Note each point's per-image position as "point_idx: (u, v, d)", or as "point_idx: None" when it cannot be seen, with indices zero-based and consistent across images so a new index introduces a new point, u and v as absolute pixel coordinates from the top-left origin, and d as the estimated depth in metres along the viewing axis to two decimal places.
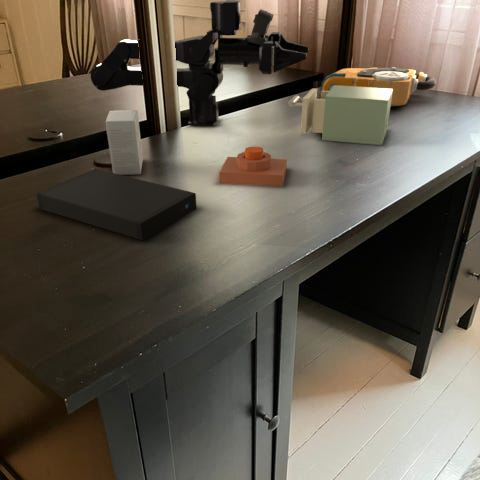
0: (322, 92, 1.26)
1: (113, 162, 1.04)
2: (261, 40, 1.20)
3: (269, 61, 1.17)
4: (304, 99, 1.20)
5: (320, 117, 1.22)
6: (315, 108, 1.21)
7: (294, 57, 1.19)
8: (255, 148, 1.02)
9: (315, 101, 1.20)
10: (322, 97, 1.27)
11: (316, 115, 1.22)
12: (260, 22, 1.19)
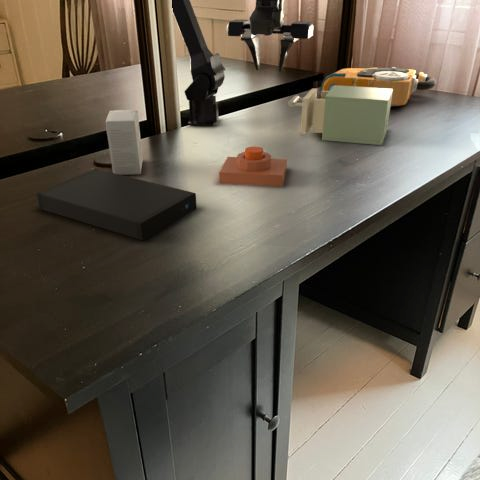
0: (322, 92, 1.26)
1: (113, 162, 1.04)
2: None
3: None
4: (304, 99, 1.20)
5: (320, 117, 1.22)
6: (315, 108, 1.21)
7: None
8: (255, 148, 1.02)
9: (315, 101, 1.20)
10: (322, 97, 1.27)
11: (316, 115, 1.22)
12: None
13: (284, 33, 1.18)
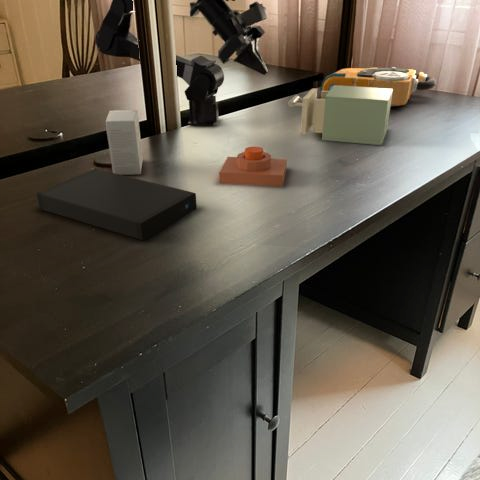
0: (322, 92, 1.26)
1: (113, 162, 1.04)
2: (240, 28, 1.18)
3: (229, 54, 1.16)
4: (304, 99, 1.20)
5: (320, 117, 1.22)
6: (315, 108, 1.21)
7: (257, 65, 1.23)
8: (255, 148, 1.02)
9: (315, 101, 1.20)
10: (322, 97, 1.27)
11: (316, 115, 1.22)
12: (251, 14, 1.16)
13: (251, 39, 1.25)
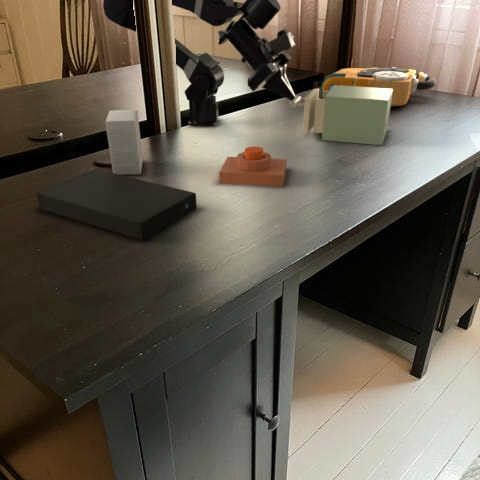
0: (324, 92, 1.26)
1: (113, 162, 1.04)
2: (269, 56, 1.19)
3: (259, 82, 1.17)
4: (306, 99, 1.20)
5: (322, 117, 1.22)
6: (317, 108, 1.21)
7: (285, 91, 1.24)
8: (255, 148, 1.02)
9: (317, 101, 1.20)
10: (324, 97, 1.27)
11: (318, 115, 1.22)
12: (280, 42, 1.18)
13: (278, 65, 1.26)
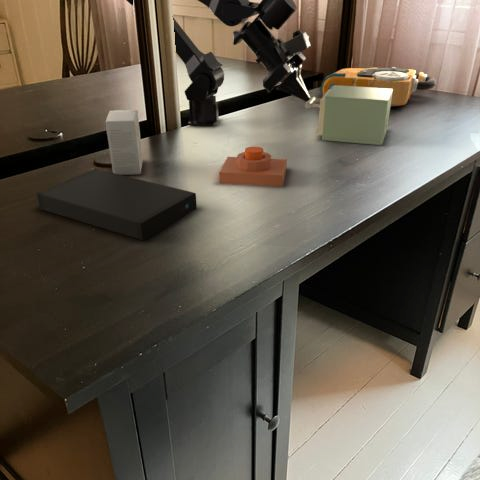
0: None
1: (113, 162, 1.04)
2: (284, 57, 1.18)
3: (275, 83, 1.16)
4: (322, 100, 1.19)
5: None
6: None
7: (299, 92, 1.23)
8: (255, 148, 1.02)
9: None
10: None
11: None
12: (295, 43, 1.17)
13: (292, 66, 1.25)
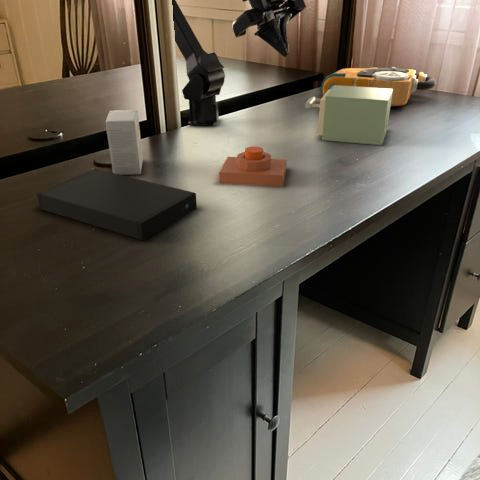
0: None
1: (113, 162, 1.04)
2: (265, 2, 1.08)
3: (241, 29, 1.08)
4: (322, 100, 1.19)
5: None
6: None
7: (278, 45, 1.14)
8: (255, 148, 1.02)
9: None
10: None
11: None
12: None
13: (284, 13, 1.14)
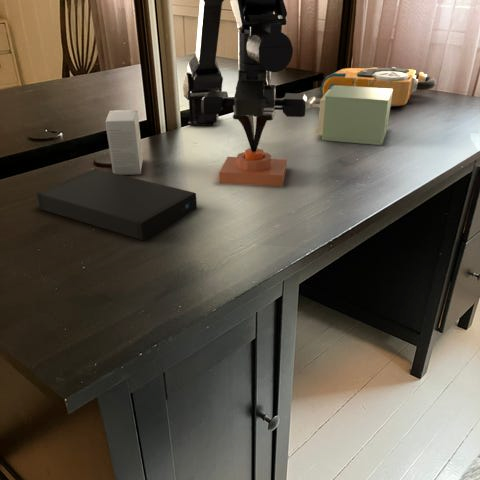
0: None
1: (113, 162, 1.04)
2: None
3: None
4: (322, 100, 1.19)
5: None
6: None
7: None
8: None
9: None
10: None
11: None
12: None
13: (273, 109, 0.96)
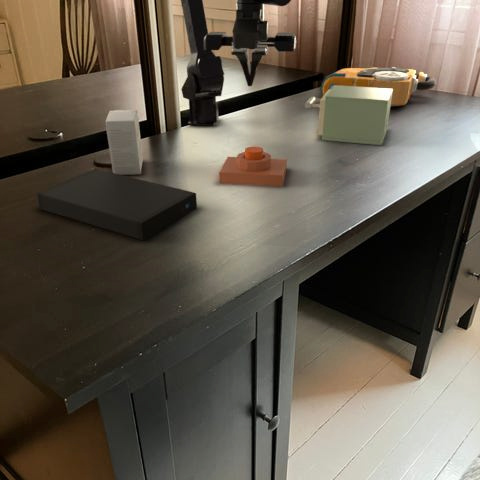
0: None
1: (113, 162, 1.04)
2: None
3: None
4: (322, 100, 1.19)
5: None
6: None
7: None
8: (255, 148, 1.02)
9: None
10: None
11: None
12: None
13: (266, 46, 1.10)
